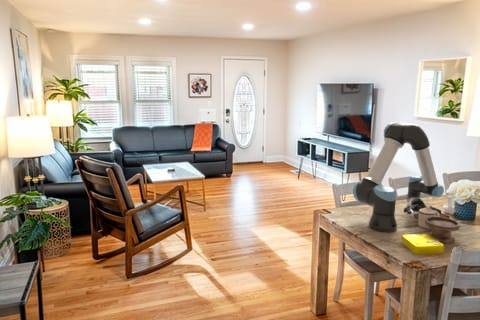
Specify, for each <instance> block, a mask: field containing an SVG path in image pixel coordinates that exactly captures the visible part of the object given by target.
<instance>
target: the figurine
mask: <svg viewBox="0 0 480 320" xmlns="http://www.w3.org/2000/svg"><path fill="white" fill-rule="evenodd" d="M454 195H455V194H454ZM454 195H452V194H449V193H448V198H447V204H443V206H442V209H443V211H444V213H445V214H449V215H450V214H451V215H454V213H455V212H454V206H455V205H453V201H454Z"/></svg>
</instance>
